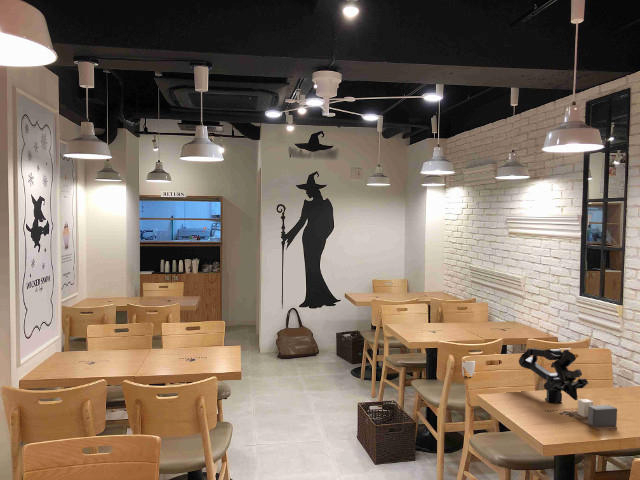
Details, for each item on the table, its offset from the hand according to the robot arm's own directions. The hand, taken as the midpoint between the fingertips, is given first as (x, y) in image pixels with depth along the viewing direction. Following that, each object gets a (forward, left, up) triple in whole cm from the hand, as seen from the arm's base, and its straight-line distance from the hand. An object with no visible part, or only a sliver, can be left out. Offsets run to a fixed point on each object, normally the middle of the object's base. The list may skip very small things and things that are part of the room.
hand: (576, 399), depth 251 cm
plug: (+2, -7, -5) cm, 9 cm away
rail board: (+3, -10, -7) cm, 12 cm away
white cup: (-39, +56, -7) cm, 69 cm away
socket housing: (+4, -17, -5) cm, 18 cm away
